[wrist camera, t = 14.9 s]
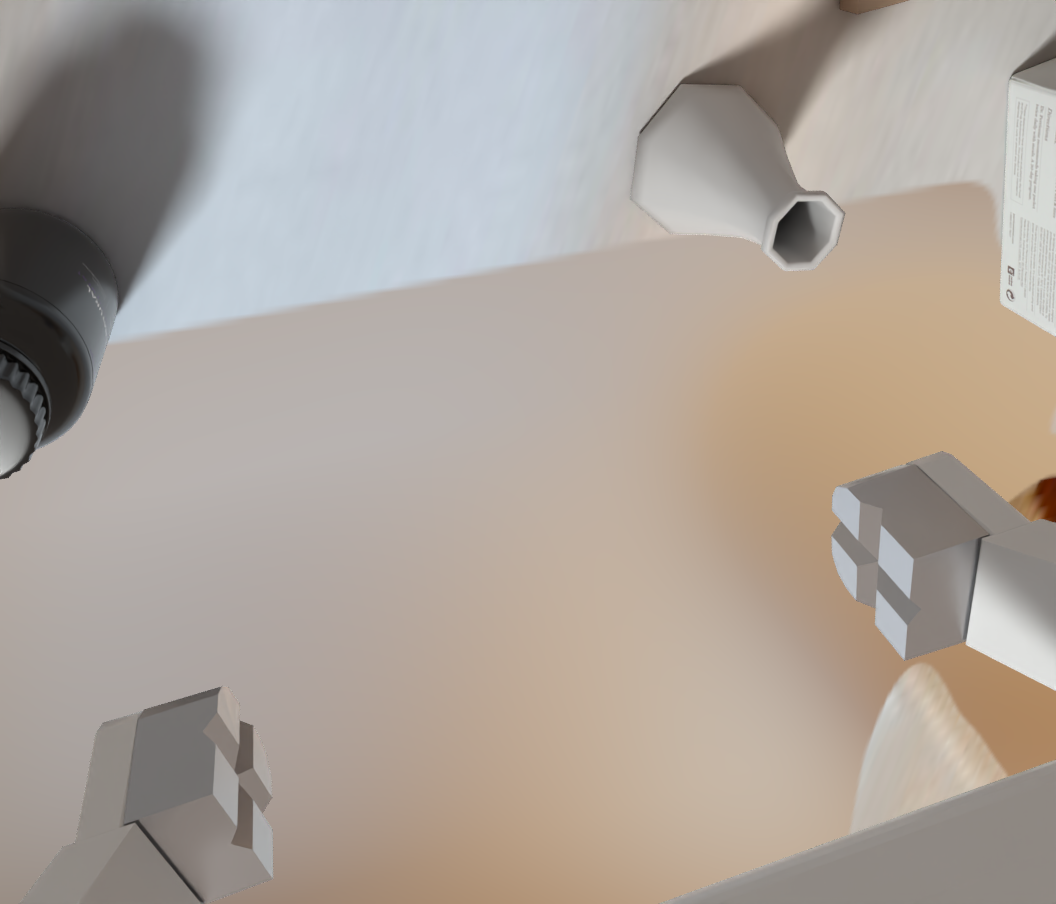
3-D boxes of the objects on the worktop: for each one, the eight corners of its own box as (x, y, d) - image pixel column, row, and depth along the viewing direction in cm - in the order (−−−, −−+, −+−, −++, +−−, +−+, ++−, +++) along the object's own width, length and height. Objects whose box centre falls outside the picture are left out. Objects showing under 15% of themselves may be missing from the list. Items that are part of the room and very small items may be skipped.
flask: (798, 110, 42) (927, 172, 34) (727, 252, 45) (829, 339, 37) (670, 54, 39) (777, 107, 31) (603, 210, 42) (685, 293, 34)
